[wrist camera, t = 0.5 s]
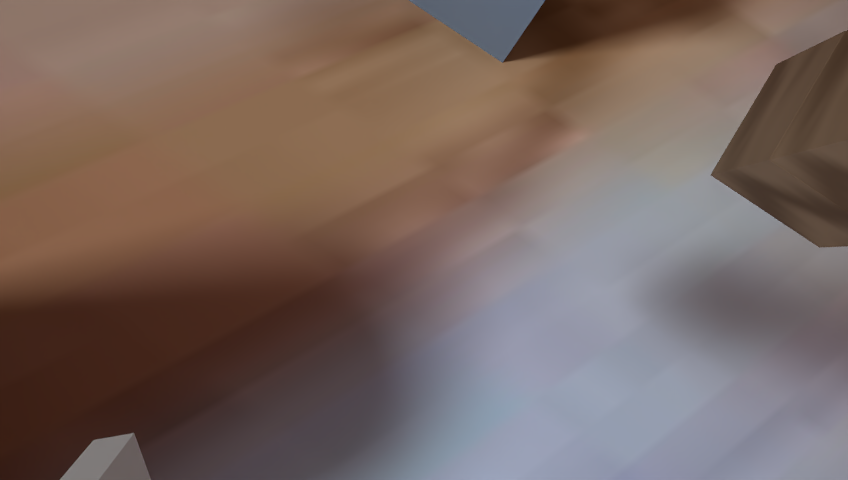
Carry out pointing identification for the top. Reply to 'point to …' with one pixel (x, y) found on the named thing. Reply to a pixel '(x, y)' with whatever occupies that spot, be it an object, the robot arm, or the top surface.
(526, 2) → the blue block
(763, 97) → the tower base
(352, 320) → the top surface
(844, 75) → the tower top
